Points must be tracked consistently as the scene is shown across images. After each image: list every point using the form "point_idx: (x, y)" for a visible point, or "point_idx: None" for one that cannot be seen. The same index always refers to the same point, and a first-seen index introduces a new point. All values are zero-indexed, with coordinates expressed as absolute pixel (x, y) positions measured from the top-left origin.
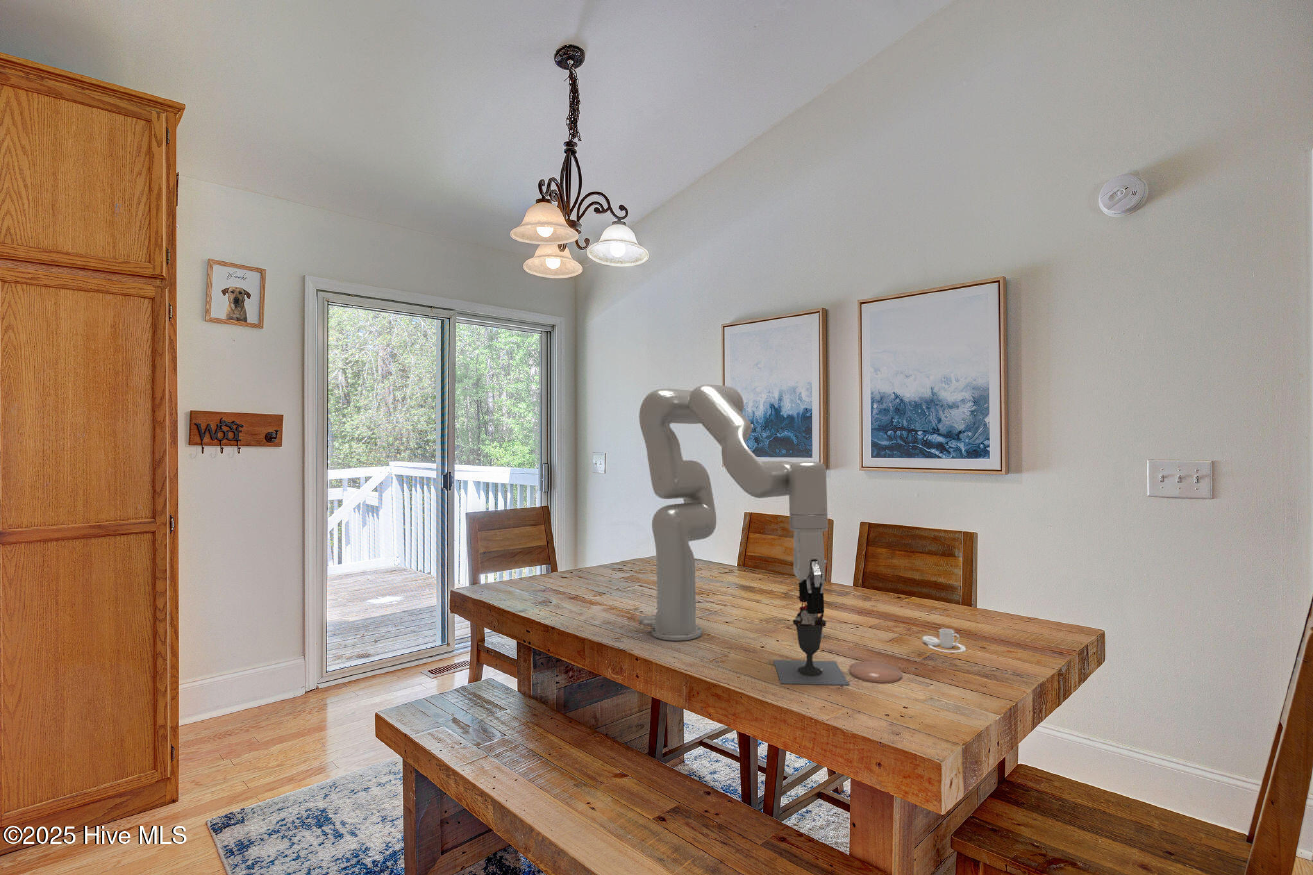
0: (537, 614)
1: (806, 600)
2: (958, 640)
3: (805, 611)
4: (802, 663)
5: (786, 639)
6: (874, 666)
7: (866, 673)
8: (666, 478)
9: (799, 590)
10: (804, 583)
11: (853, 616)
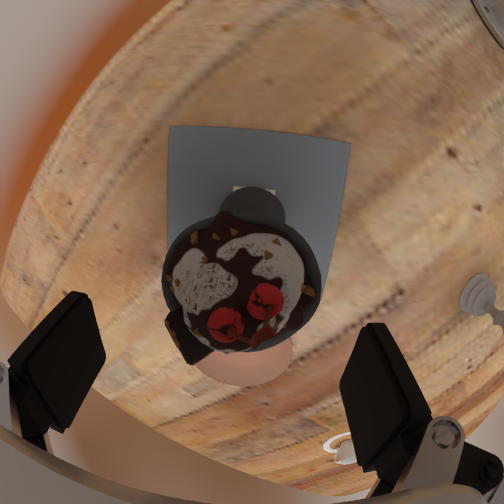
0: None
1: (355, 356)
2: (334, 457)
3: (202, 302)
4: (315, 216)
5: (478, 231)
6: (258, 358)
7: None
8: None
9: (394, 370)
10: (394, 436)
11: (499, 365)
